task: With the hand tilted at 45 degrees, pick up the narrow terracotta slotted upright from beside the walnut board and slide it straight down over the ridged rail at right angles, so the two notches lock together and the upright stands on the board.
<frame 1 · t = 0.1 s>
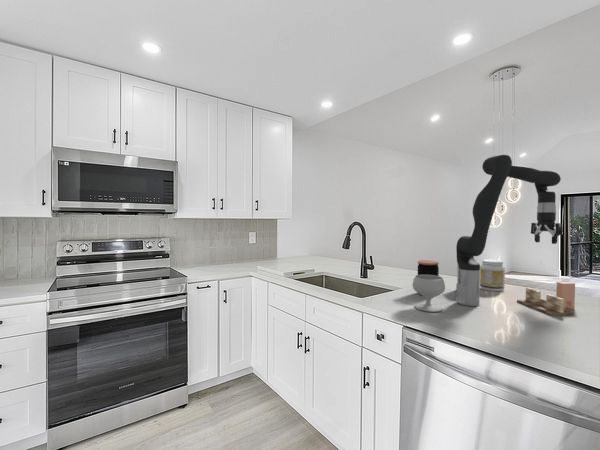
hand: (545, 243, 156), 29 cm above the worktop, tool pointing down, fingers open, 8 cm apart
ridged rail: (543, 308, 141), on the worktop
supplement tub: (491, 289, 177), on the worktop
coffee jar: (427, 294, 167), on the worktop
chalice: (428, 309, 141), on the worktop
slotted upright: (565, 308, 141), on the worktop
candy bar box: (464, 292, 171), on the worktop
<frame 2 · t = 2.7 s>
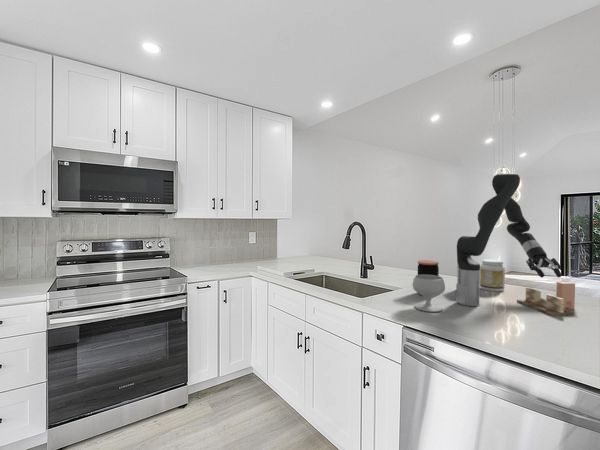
hand: (551, 276, 149), 13 cm above the worktop, tool tilted 45°, fingers open, 8 cm apart
nothing on the worktop moved.
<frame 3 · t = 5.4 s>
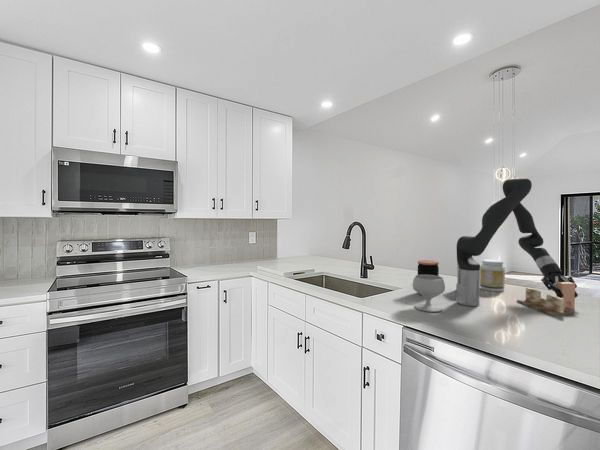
hand: (568, 296, 139), 6 cm above the worktop, tool tilted 45°, fingers closed on slotted upright, 6 cm apart
slotted upright: (565, 308, 141), on the worktop, touching gripper
everything else where it was.
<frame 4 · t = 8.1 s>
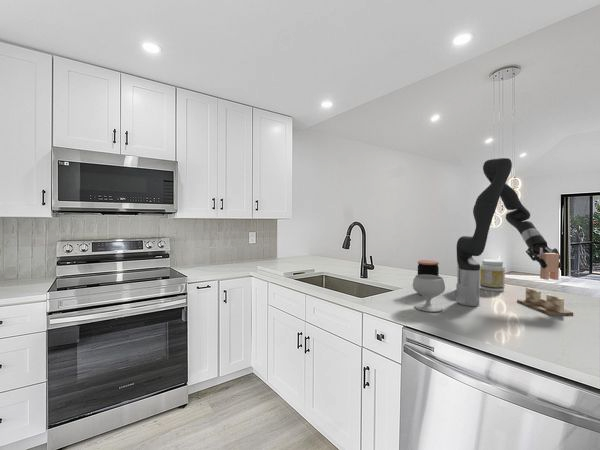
hand: (552, 267, 139), 20 cm above the worktop, tool tilted 45°, fingers closed on slotted upright, 6 cm apart
slotted upright: (549, 279, 141), point 14 cm above the worktop, touching gripper
everything else where it was.
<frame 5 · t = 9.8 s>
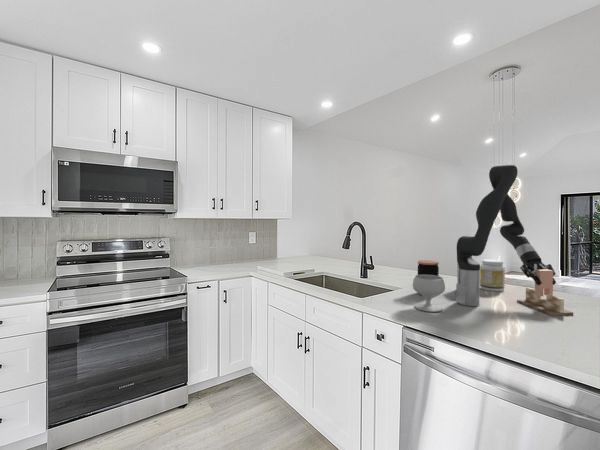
hand: (547, 284, 139), 12 cm above the worktop, tool tilted 45°, fingers closed on slotted upright, 6 cm apart
slotted upright: (543, 295, 141), point 6 cm above the worktop, touching gripper
everything else where it was.
when the fingers open (8 cm above the worktop, at t = 11.1 s): slotted upright stays where it is, resting on ridged rail.
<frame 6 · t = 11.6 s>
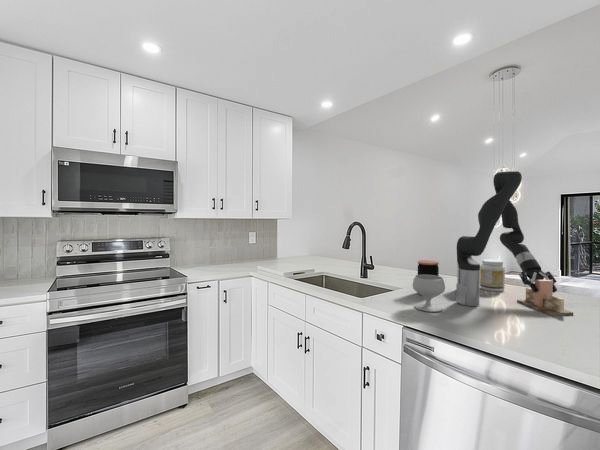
hand: (546, 291, 140), 8 cm above the worktop, tool tilted 45°, fingers open, 8 cm apart
slotted upright: (543, 305, 141), point 1 cm above the worktop, touching ridged rail
everything else where it was.
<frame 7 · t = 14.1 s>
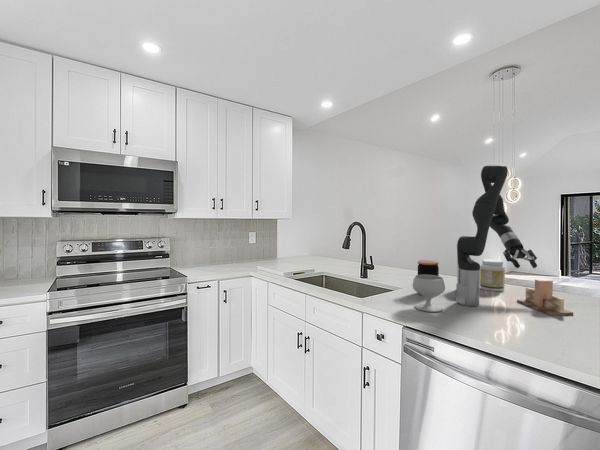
hand: (526, 267, 151), 17 cm above the worktop, tool tilted 45°, fingers open, 8 cm apart
nothing on the worktop moved.
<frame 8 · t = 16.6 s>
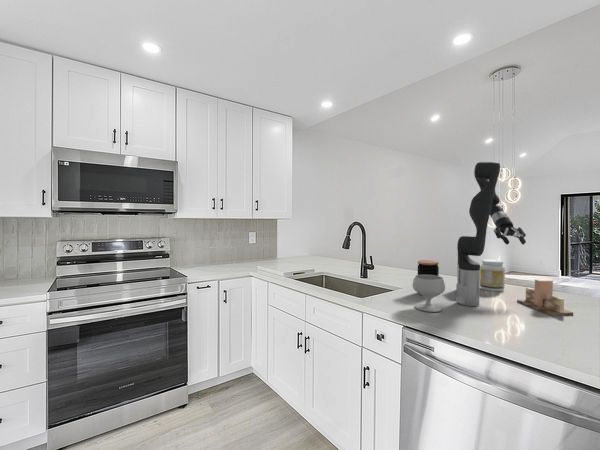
hand: (516, 243, 158), 29 cm above the worktop, tool tilted 45°, fingers open, 8 cm apart
nothing on the worktop moved.
at the end: slotted upright 0.1 cm off-centre on the ridged rail, point 1.2 cm above the ridged rail's base; slotted upright tilted 0°; the gripper is holding nothing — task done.
